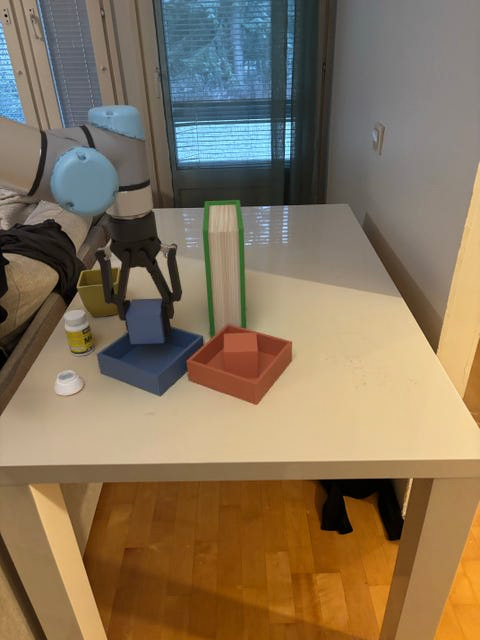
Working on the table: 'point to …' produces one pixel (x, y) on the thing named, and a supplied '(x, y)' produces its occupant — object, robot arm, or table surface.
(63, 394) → the lidless jar
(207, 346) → the rust bin
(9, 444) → the table surface
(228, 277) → the hardback book
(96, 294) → the flower pot
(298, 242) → the table surface
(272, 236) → the table surface
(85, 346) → the supplement bottle
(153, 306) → the slate block
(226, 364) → the rust block
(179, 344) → the slate bin
